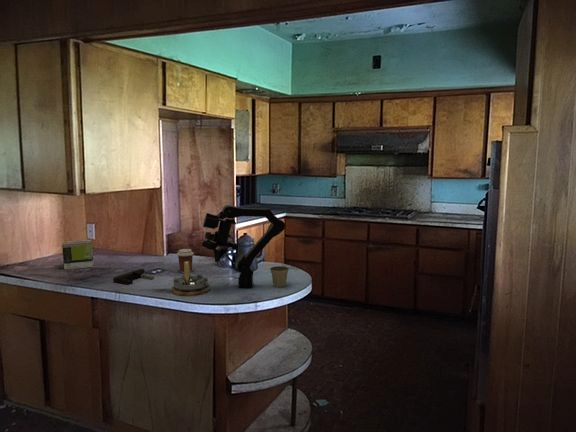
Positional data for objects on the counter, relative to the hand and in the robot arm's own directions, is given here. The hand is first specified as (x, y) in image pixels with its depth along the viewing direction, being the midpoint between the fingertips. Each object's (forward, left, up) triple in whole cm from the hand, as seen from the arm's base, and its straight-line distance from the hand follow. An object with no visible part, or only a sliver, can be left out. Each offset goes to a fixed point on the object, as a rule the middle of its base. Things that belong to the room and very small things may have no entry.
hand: (216, 262), depth 225 cm
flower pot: (-30, -7, -13) cm, 33 cm away
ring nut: (+11, +5, -11) cm, 17 cm away
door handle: (+46, -11, -14) cm, 49 cm away
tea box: (+90, -32, -13) cm, 97 cm away
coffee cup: (+25, -28, -13) cm, 40 cm away
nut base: (+11, +5, -13) cm, 18 cm away
